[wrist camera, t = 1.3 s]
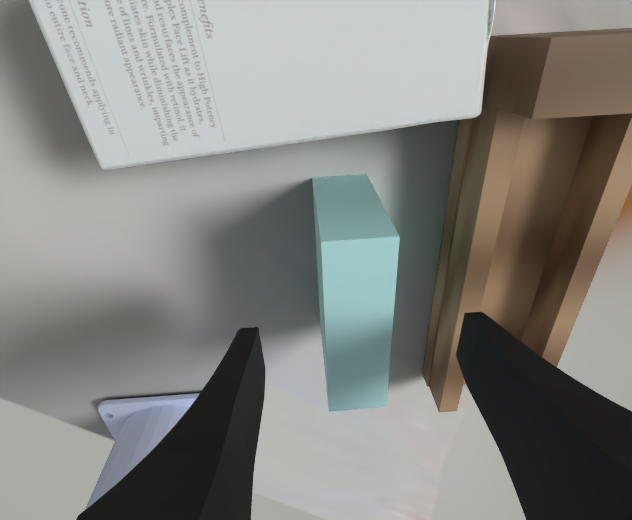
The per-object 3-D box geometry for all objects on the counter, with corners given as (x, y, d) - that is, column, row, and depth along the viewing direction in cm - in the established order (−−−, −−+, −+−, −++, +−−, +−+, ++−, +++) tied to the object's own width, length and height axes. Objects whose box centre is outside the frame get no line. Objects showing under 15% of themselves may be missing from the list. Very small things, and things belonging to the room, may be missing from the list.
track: (517, 366, 23) (567, 440, 19) (422, 373, 23) (451, 449, 19) (629, 28, 14) (779, 24, 10) (471, 37, 14) (551, 37, 9)
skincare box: (138, 141, 15) (432, 104, 15) (91, 178, 11) (484, 127, 11) (70, -54, 12) (444, -98, 12) (-31, -98, 8) (521, -161, 8)
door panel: (363, 314, 21) (386, 406, 15) (319, 317, 20) (328, 411, 15) (366, 173, 16) (399, 236, 11) (312, 177, 16) (320, 241, 11)
